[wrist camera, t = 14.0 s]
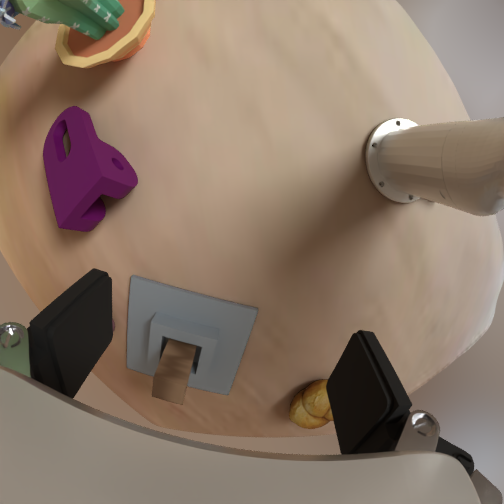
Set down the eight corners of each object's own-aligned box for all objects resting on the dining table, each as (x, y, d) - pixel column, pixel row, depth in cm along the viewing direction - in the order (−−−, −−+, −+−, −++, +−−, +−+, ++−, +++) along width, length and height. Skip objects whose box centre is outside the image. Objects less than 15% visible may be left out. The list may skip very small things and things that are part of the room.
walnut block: (198, 338, 43) (186, 385, 32) (194, 357, 44) (182, 405, 34) (172, 330, 42) (153, 376, 32) (168, 350, 44) (152, 396, 33)
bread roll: (301, 418, 51) (306, 446, 44) (271, 400, 49) (274, 431, 41) (350, 388, 48) (361, 416, 41) (324, 366, 46) (334, 397, 39)
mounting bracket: (75, 153, 39) (102, 234, 36) (40, 139, 31) (58, 228, 28) (109, 115, 37) (145, 192, 34) (76, 95, 29) (102, 176, 26)
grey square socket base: (257, 308, 42) (258, 321, 38) (228, 392, 48) (227, 406, 44) (132, 274, 40) (123, 284, 36) (128, 365, 46) (121, 378, 42)
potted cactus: (99, 6, 25) (16, -57, 1) (183, -3, 26) (133, -109, 2) (71, 83, 30) (-47, 55, 6) (156, 80, 31) (47, 3, 7)
